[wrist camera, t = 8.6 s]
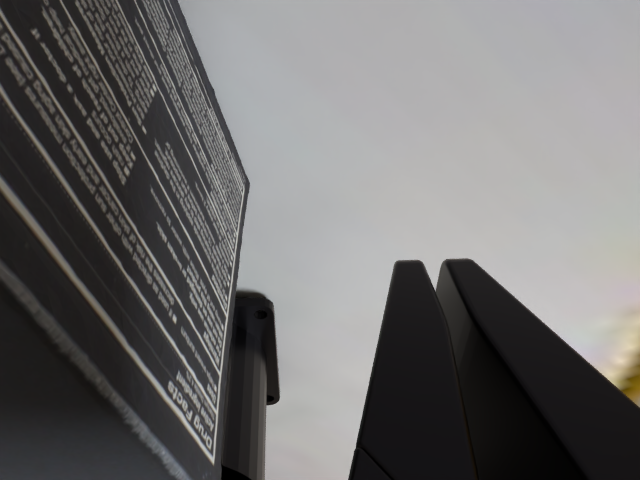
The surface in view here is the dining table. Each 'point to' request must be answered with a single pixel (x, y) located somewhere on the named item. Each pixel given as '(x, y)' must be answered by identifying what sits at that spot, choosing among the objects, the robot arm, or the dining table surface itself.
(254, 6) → the dining table surface
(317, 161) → the dining table surface
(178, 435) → the small box
